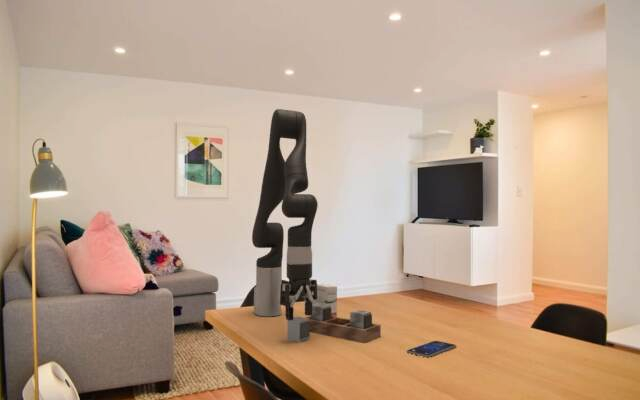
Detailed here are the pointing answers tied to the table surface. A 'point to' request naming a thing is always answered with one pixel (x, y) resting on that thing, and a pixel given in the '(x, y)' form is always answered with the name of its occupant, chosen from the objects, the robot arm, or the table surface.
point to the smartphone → (431, 349)
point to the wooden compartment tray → (344, 324)
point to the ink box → (327, 297)
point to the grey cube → (298, 329)
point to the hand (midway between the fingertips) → (299, 317)
